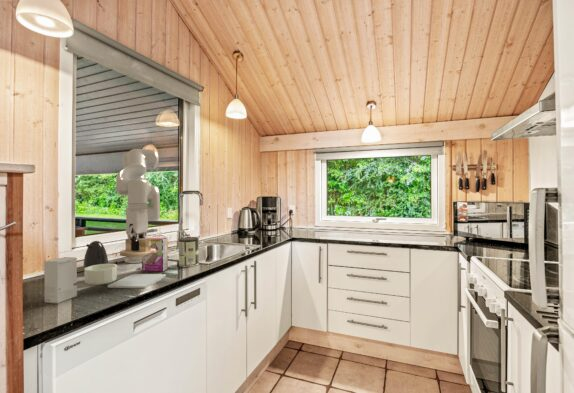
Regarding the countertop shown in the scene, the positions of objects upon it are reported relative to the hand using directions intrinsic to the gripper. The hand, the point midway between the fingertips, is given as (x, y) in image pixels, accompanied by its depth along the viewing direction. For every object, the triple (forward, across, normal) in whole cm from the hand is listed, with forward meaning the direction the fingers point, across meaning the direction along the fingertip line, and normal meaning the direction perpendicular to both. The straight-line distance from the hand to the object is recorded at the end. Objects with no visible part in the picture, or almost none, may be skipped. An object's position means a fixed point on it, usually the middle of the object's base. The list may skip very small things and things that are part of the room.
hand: (138, 249), depth 134 cm
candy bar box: (+14, -18, -2) cm, 23 cm away
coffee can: (+14, -31, +10) cm, 36 cm away
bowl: (+14, 0, -17) cm, 22 cm away
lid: (+3, 0, 0) cm, 3 cm away
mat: (+14, 0, 0) cm, 14 cm away
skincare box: (+14, +23, -16) cm, 31 cm away
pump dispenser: (+14, -13, -29) cm, 35 cm away
